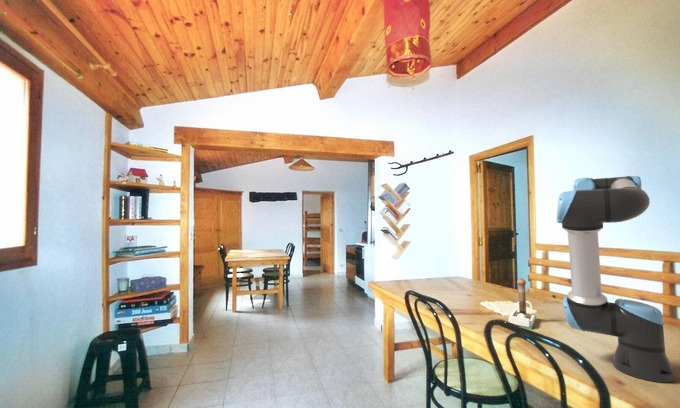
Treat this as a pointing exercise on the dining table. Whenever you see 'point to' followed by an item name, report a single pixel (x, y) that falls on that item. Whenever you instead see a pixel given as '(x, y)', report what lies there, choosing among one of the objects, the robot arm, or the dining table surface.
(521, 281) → the brown upright rod
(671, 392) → the dining table surface
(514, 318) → the white open tray
